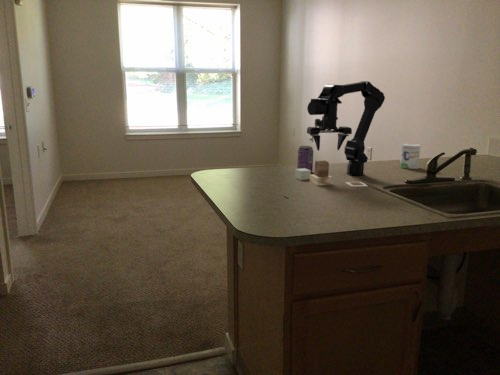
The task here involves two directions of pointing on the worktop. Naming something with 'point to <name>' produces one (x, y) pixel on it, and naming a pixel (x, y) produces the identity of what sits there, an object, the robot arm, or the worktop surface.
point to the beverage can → (305, 157)
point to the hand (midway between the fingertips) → (328, 150)
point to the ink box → (410, 156)
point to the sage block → (302, 174)
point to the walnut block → (321, 168)
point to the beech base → (320, 180)
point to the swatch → (356, 184)
